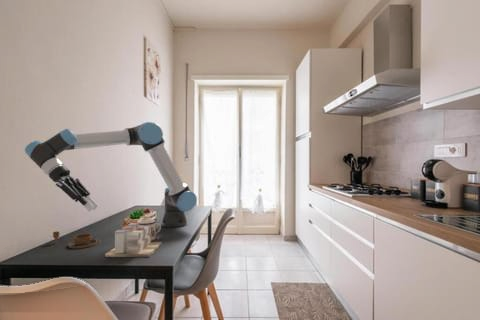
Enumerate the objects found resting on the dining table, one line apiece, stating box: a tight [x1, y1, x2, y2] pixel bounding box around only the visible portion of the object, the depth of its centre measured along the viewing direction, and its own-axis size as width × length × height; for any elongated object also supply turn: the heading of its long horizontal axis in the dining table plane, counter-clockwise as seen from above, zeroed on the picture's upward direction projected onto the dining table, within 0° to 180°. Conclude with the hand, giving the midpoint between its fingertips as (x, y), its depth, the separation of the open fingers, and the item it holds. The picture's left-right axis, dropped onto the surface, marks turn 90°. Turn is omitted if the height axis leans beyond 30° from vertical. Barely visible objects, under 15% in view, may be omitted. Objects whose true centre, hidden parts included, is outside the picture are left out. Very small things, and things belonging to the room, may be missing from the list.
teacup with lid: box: [136, 215, 162, 242], centre depth 139 cm, size 12×9×12 cm
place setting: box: [52, 231, 102, 250], centre depth 131 cm, size 18×20×6 cm
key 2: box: [127, 222, 139, 231], centre depth 127 cm, size 3×4×9 cm
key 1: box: [114, 229, 127, 253], centre depth 114 cm, size 3×4×9 cm
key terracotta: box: [120, 225, 133, 234], centre depth 121 cm, size 3×4×9 cm
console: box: [104, 225, 162, 258], centre depth 121 cm, size 17×18×10 cm
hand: (94, 208), depth 121 cm, fingers open, 3 cm apart
